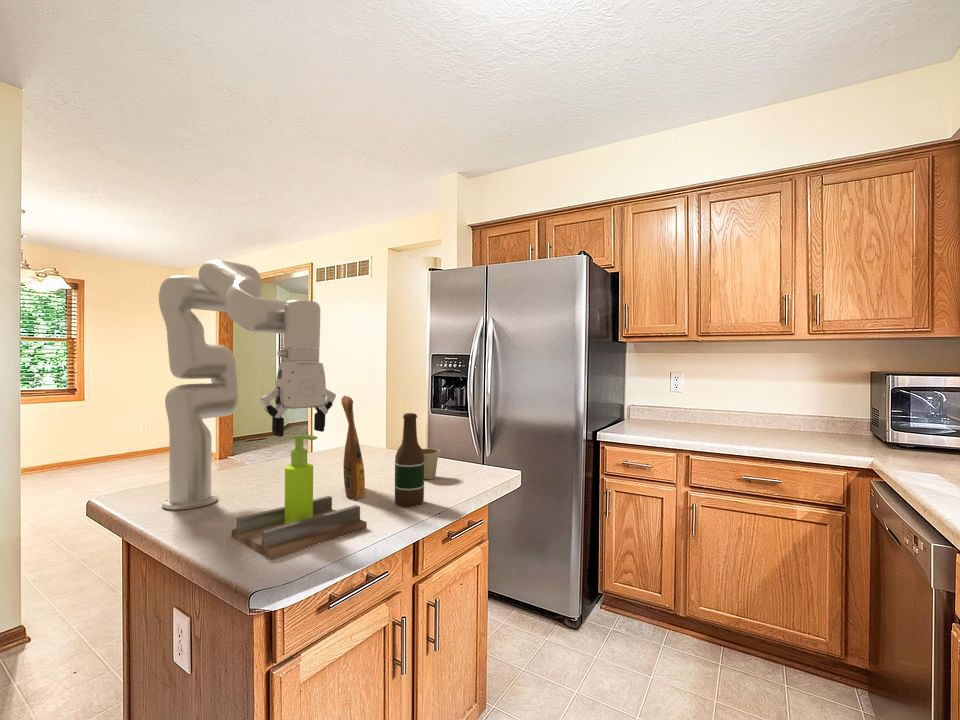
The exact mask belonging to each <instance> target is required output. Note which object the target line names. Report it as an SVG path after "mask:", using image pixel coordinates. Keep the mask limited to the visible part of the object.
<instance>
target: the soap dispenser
mask: <svg viewBox="0 0 960 720" xmlns="http://www.w3.org/2000/svg"><path fill="white" fill-rule="evenodd" d="M290 438H291V440H294V447H295V448H294V449H291V451H290V464H288V465H286V466H284V507H285V525H286V524H289V523H293V522H297V521H300V520H304V519H308V518H311V517H313V500H314V465H313V464H312V463H308V449H306V448H304V440H307V441H308V440H309V441H316V439H318V436H315V435H312V434H294V435H291V437H290Z"/></svg>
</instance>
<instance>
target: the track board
mask: <svg viewBox="0 0 960 720" xmlns="http://www.w3.org/2000/svg"><path fill="white" fill-rule="evenodd" d="M367 524H368V523H367V520H366V521H365V520H363V519H361V506H359V505H356V504H355V505H352V506H347V507H345V508H342V509H337V510H335V509H333V497H332V496H330V495H328V496H322V497H318V498H313V517H311V518H308V519H304V520H300V521H297V522H293V523H289V524H286V525H285V506H281V507H277V508H273V509H269V510H266V511H260V512H257V513H253V514H248V515H245V516H241V517H236V528H233V529H231V538H234V539H236V541H239V542H240V543H242V544H244V545H245V546H247V547H249V548H250V549H253V550H255V551H256V552H258V553H259V554H261V555H263V556H265V557H266V558H269V559H270V560H274V559H277V558H281V557H284V556H286V554H287V555H290V554H293V553H295V552H299V551H302V550H305V549H308V548H310V547H309V546H311V547H314V546H317V545H316V544H318V545H320V544H319V543H321V544H323V542H324V543H326V542H325V541H327V542H329V540H330V541H333V540H336V539H339V538H341V536H342V537H344V535H345V536H348V535H351V534H353V532H354V533H357V532H360V531H363V530H362V529H364V530H365V529H366V528H367ZM367 529H368V528H367ZM367 529H366V530H367ZM359 530H360V531H359ZM356 531H357V532H356ZM350 533H351V534H350ZM347 534H348V535H347ZM338 537H339V538H338ZM335 538H336V539H335ZM332 539H333V540H332ZM313 545H314V546H313ZM307 547H308V548H307ZM304 548H305V549H304ZM301 549H302V550H301ZM298 550H299V551H298ZM289 553H290V554H289Z"/></svg>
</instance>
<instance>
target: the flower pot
mask: <svg viewBox="0 0 960 720" xmlns="http://www.w3.org/2000/svg"><path fill="white" fill-rule="evenodd" d="M421 449H422V451H423V454H424V481H425V480H426V479H427V480H433V479H435V478H436V477H437V475H436V474H437V466H438V460H439V456H440V453H441V450H440V449H436V448H421Z"/></svg>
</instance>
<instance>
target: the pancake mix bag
mask: <svg viewBox="0 0 960 720" xmlns="http://www.w3.org/2000/svg"><path fill="white" fill-rule="evenodd" d="M340 401H341V405H342V408H343V411H344V414H345V417H346V421H347V424H348V427H347V433H346V440H345V445H344V454H343V455H344V456H343V483H344V490H345V496H346V499H348V498H350V499H349V500H352V499H355V500H356V501H357V500H358V499H361V498H360V497H362V498H363V497H364V496H363V495H364V494H365V491H366V489H365V488H366V482H365V481H366V478H365V467H364V460H363V456H362V451H361V447H360V443H359V442H360V441H359V437H358V432H357V429H356V425H355V416H354V409H353V408H354V407H353V406H354V400H353V398H352V397H350V396H346V395H345V394H344V395H343V396H342V397H341V399H340ZM355 500H354V501H355Z"/></svg>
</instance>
